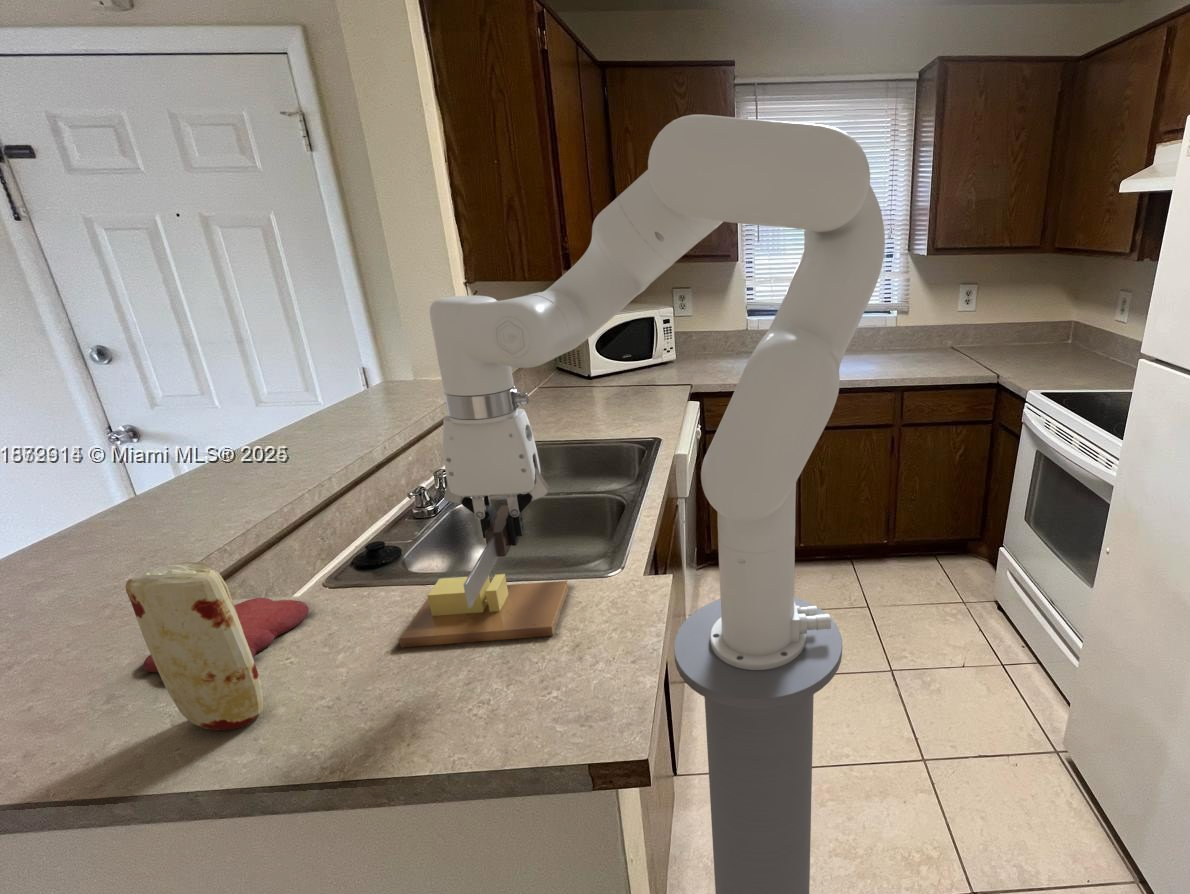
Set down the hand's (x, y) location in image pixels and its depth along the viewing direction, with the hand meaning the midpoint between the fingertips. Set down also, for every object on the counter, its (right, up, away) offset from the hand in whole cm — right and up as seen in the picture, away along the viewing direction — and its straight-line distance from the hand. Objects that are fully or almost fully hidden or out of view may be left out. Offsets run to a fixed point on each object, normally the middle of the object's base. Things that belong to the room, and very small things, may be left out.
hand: (505, 540), depth 79 cm
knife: (+1, -2, -5) cm, 6 cm away
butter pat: (-6, -11, +11) cm, 16 cm away
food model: (-28, -20, -8) cm, 35 cm away
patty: (-40, -15, +6) cm, 43 cm away
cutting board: (-7, -13, +11) cm, 18 cm away
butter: (-11, -11, +11) cm, 19 cm away
